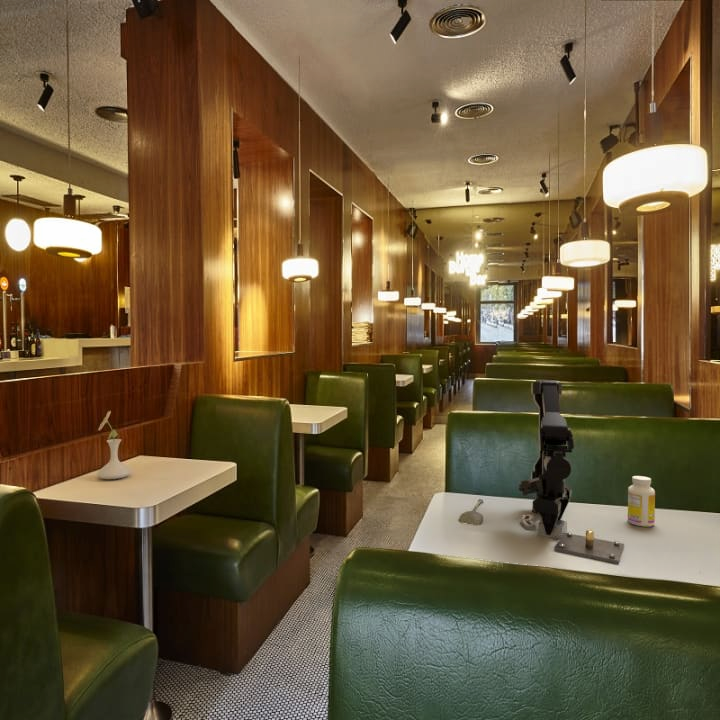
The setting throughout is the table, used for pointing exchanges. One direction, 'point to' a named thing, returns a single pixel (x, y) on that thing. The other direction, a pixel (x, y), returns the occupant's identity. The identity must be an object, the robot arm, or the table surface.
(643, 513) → the supplement bottle
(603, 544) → the keeper plate
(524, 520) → the chain tail
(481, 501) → the soupspoon
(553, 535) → the end link
